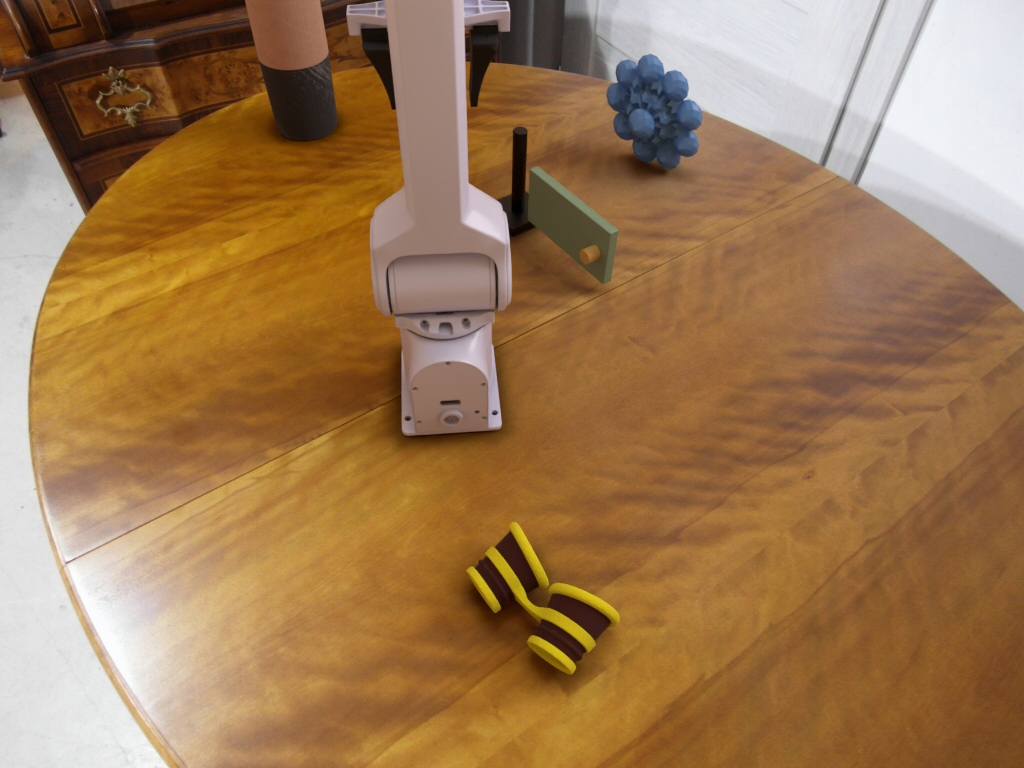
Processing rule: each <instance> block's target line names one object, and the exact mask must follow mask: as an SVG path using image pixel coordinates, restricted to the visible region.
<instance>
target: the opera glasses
mask: <svg viewBox="0 0 1024 768" xmlns="http://www.w3.org/2000/svg"><path fill="white" fill-rule="evenodd" d="M465 573H466V574H467V576H468V577H469V579H470V580H471V582H472V583H473V586H474V587H475V588H476V590H477V592H478V593H479V594H480V595H481V597H482V599H483V600H484V601H485V603H486V604H487V605H488V607H489V608H490V610H492V612H493V613H494V614H497V613H499V612H500V611H501V610H502V605H505V604H506V605H510V604H511V601H513V600H515V601H516V602H517V603H518V604H519V605H520V606H521V607H523V609H524V610H525V611H526V612H527V613H528V614H529V615H531V616H532V617H533V618H534V619H535V620H536V622H538V623H539V624H538V625H536V626H535V631H536V632H535V635H533V634H532V635H530V636H529V637H528V639H527V641H526V644H527V646H528V648H530V649H531V651H533V652H534V653H535V654H537V655H538V657H540V658H541V659H543V660H544V661H546V663H549V664H550V665H551V666H553V667H554V668H556V669H558V671H561V672H563V673H565V674H567V675H570V676H571V675H574V673H575V671H576V670H577V666H576V663H577V662H579V661H580V662H581V661H582V660H583V655H584V654H589V653H590V652H591V651H592V650H593V649H595V647H596V646H597V644H596V641H597V640H598V638H600V637H601V635H602V634H603V633H604V632H605V631H606V630H607V629H611V628H615V627H616V626H618V625H619V623H620V621H621V616H620V614H619V612H618V611H617V610H616V609H615V607H613V606H611V605H610V604H609V603H607V602H606V601H605V600H603V599H602V598H600V597H598V596H597V595H594V594H592V593H590V592H588V591H586V590H584V589H581V588H579V587H577V586H574V585H570V584H567V583H562V582H554V583H552V584H551V585H550V582H549V578H548V576H547V574H546V572H545V570H544V568H543V565H542V563H541V562H540V559H539V558H538V556H537V554H536V552H535V550H534V549H533V547H532V545H531V543H530V541H529V540H528V538H527V536H526V534H525V532H524V530H523V529H522V528H521V526H520V525H519V523H518V522H516V521H512V522H510V523H509V524H508V533H506V534H505V535H504V537H502V539H501V540H500V541H499V542H498V543H497V544H496V545H495V546H493V545H490V547H489V548H488V549H487V550H486V551H485V552H484V558H483V559H478V561H477V565H476V566H475V567H474V566H469V567H468V568H467V569H466V570H465ZM549 585H550V586H549ZM536 589H539V590H541V591H544V590H546V589H548V596H549V597H550V598H549V601H548V602H547V606H546V607H544V606H537V605H535V604H533V603H532V602H531V601H530V600H529V598H528V596H527V593H529V592H532V591H533V590H536Z"/></svg>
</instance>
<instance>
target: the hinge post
mask: <svg viewBox="0 0 1024 768" xmlns="http://www.w3.org/2000/svg"><path fill="white" fill-rule="evenodd" d="M511 150H512V154H511V156H512V157H511V193H510V194H508V195H505V196H503V197H500V198H498V199H496V200H497V201H498V202H500V203H501V205H502V208H503V211H504V212H505V213H506V216H507V221H508V229H509V236H510V237H512V238H513V237H516V236H518V235H520V234H523V233H525V232H527V231H529V230H532V229H535V228H536V227H535V226H534V225H533V224H532V223H531V222H530V221H529V220H528V199H529V192H528V191H526V188H527V187H526V184H527V159H528V158H527V156H528V155H527V154H528V128H526V127H524V126H515V127H514V128H513V129H512V149H511Z"/></svg>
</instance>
